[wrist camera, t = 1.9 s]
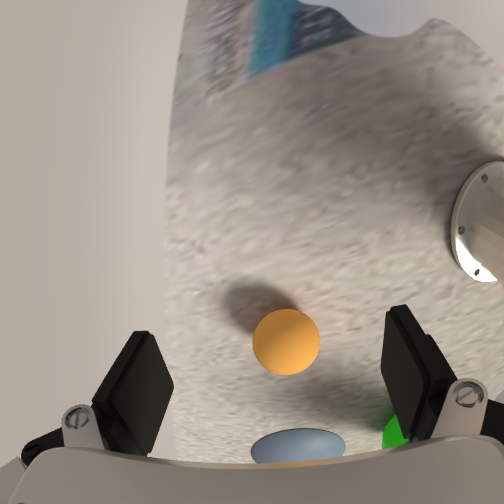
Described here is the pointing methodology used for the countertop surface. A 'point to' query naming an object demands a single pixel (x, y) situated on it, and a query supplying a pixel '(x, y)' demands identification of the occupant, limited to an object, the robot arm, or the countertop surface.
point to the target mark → (298, 446)
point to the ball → (286, 341)
